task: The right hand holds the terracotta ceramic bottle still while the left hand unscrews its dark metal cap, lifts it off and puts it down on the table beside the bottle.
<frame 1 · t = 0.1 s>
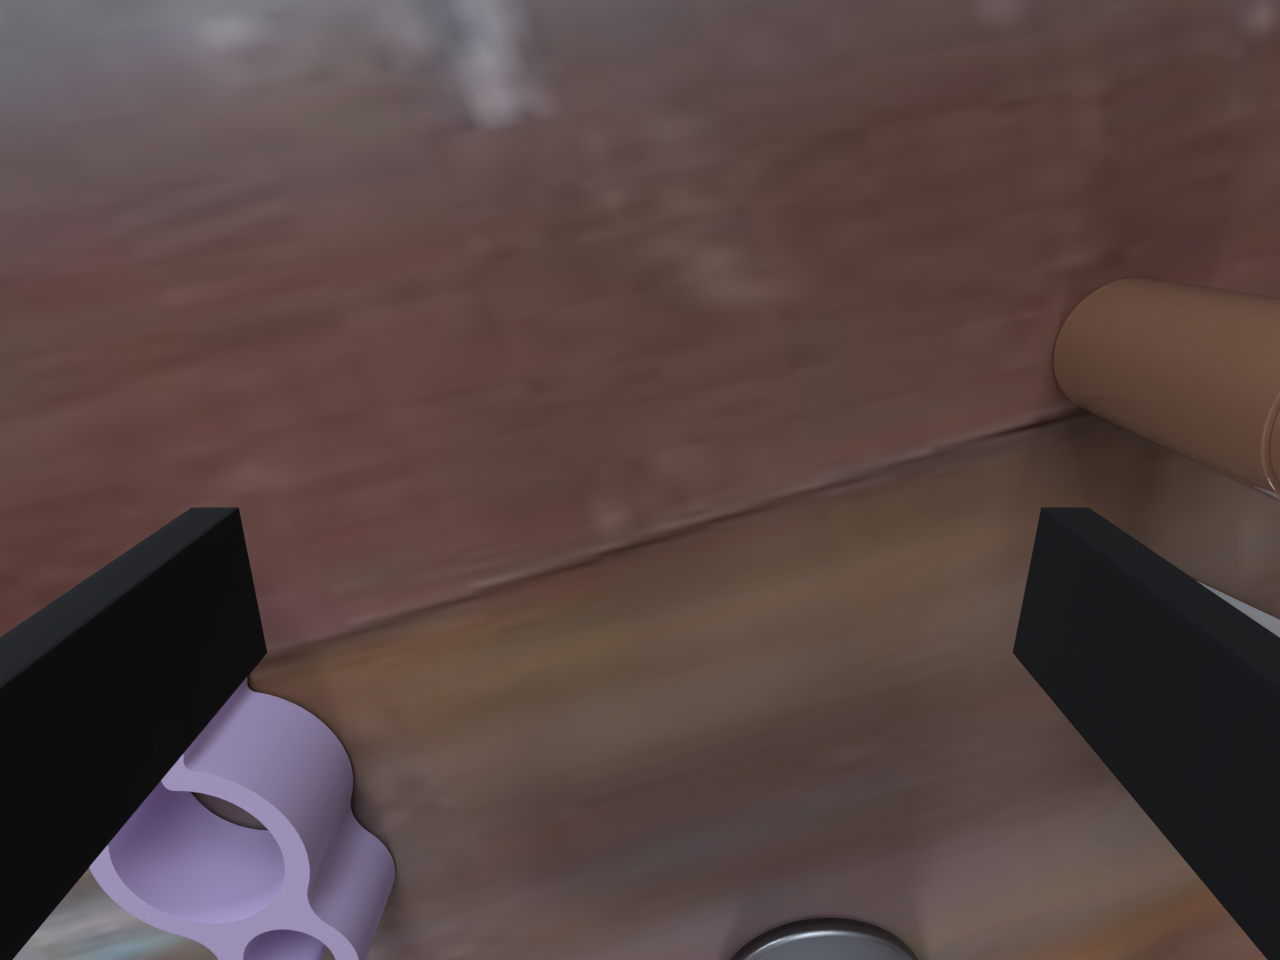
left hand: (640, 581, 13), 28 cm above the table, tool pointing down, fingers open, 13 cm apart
clip: (281, 798, 50), on the table
bottle: (1122, 347, 40), on the table
electronic device: (1191, 641, 46), on the table
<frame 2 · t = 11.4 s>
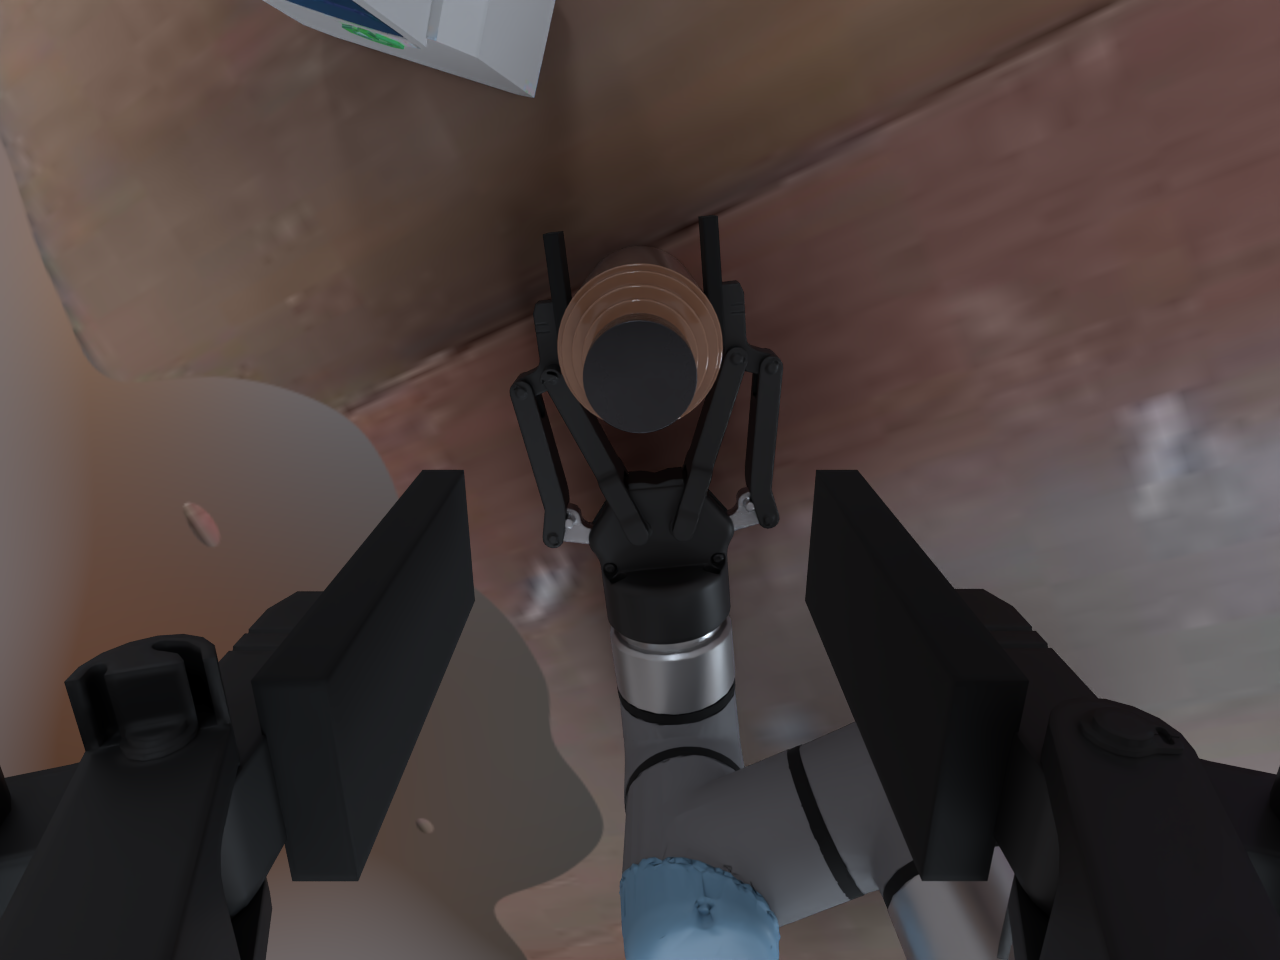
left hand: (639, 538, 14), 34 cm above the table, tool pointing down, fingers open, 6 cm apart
right hand: (630, 225, 39), fingers closed on bottle, 7 cm apart
cap: (640, 376, 28), point 20 cm above the table, screwed on, not yet turned
bottle: (640, 307, 46), on the table, touching right hand
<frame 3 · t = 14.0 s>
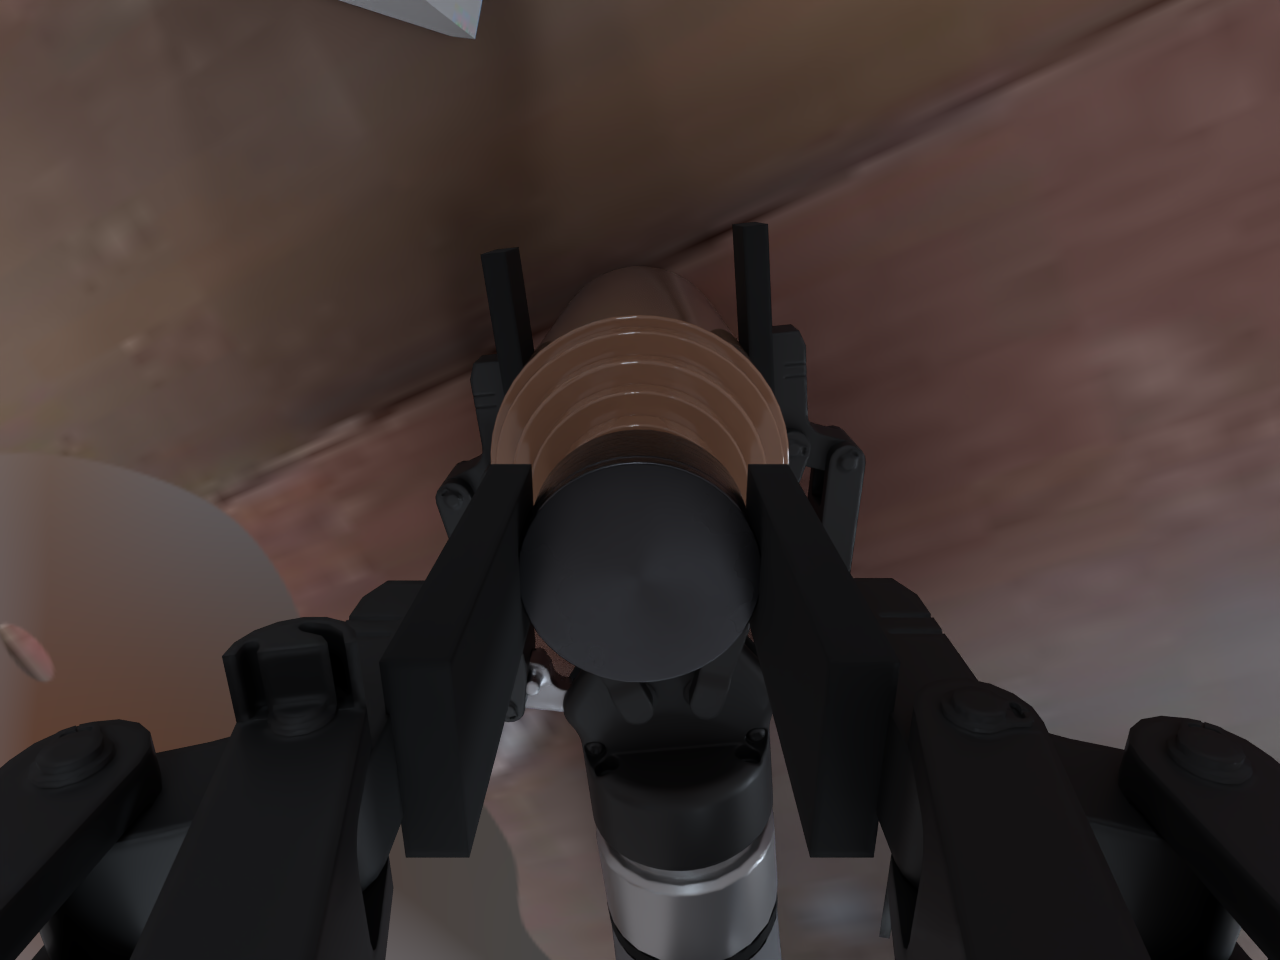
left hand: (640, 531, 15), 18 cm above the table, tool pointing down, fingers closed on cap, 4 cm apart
cap: (639, 570, 13), point 20 cm above the table, screwed on, not yet turned, touching left hand
bottle: (639, 354, 32), on the table, touching right hand
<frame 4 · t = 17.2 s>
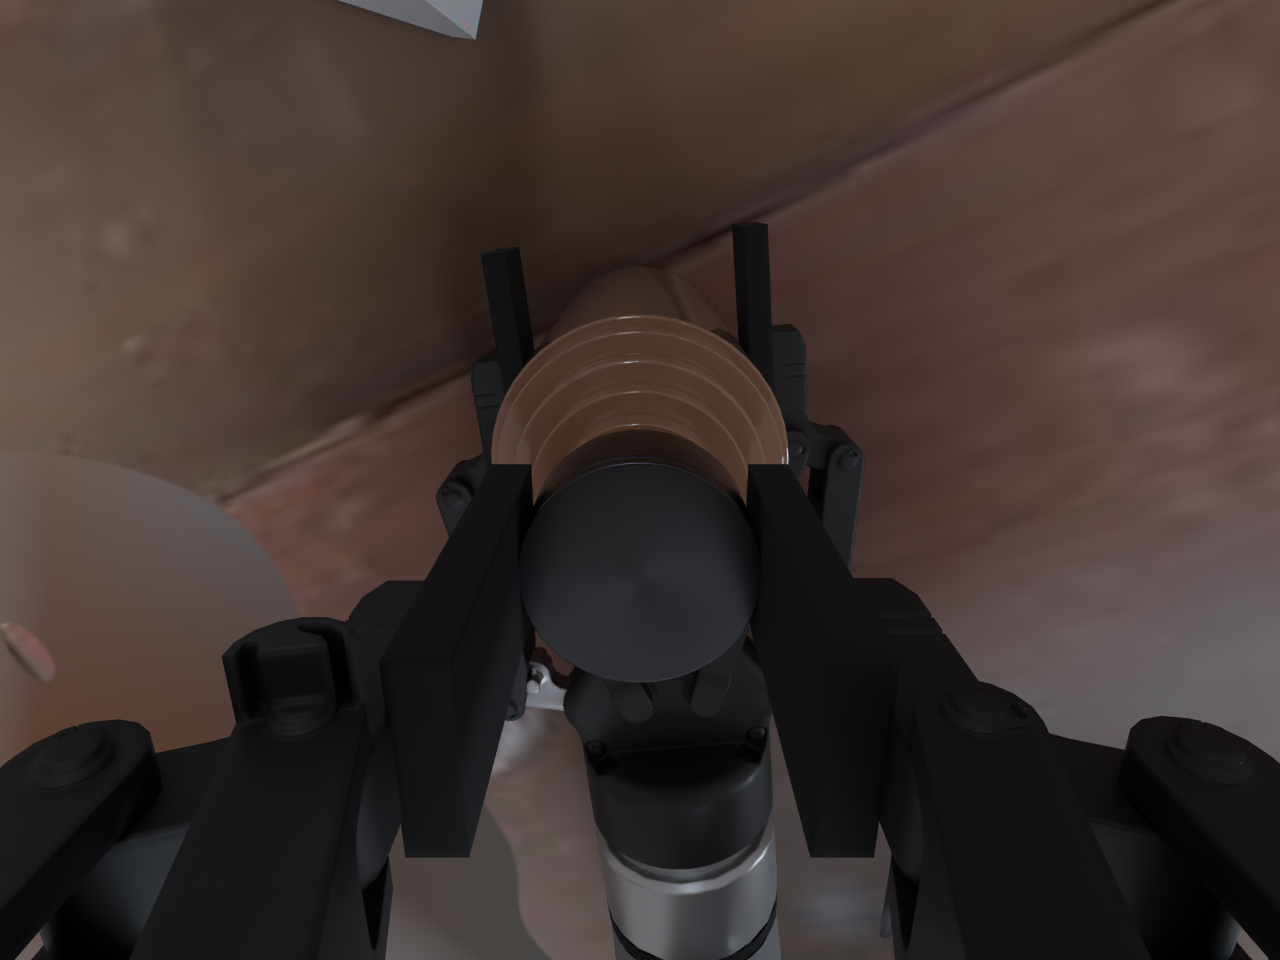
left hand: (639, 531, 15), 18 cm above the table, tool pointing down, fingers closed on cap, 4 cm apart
cap: (639, 570, 13), point 20 cm above the table, turned 84° so far, risen 0.1 cm, still on its thread, touching left hand
bottle: (639, 354, 32), on the table, touching right hand
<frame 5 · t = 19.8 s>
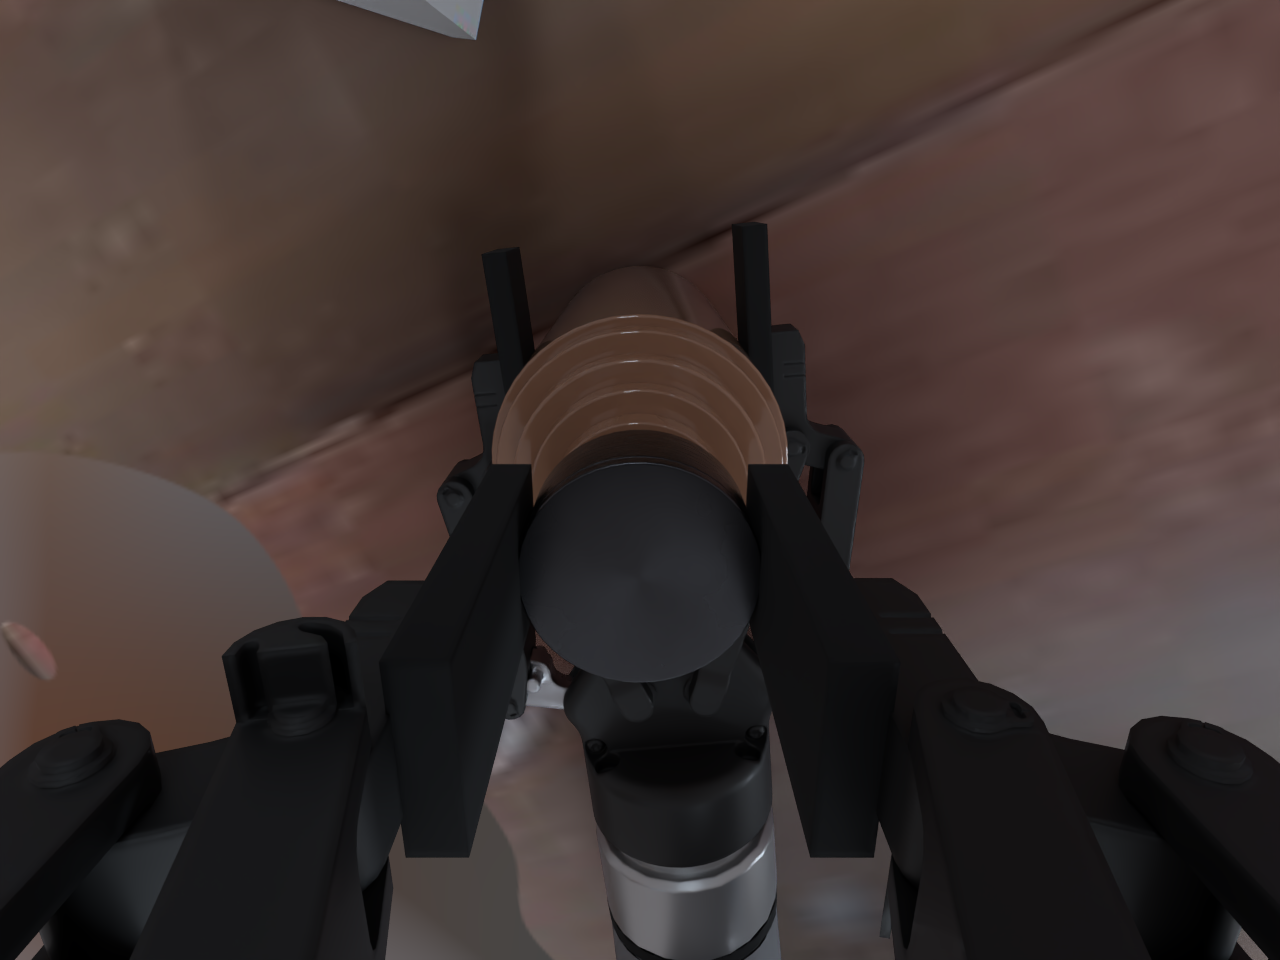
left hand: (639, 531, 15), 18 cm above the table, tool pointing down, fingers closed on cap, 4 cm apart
cap: (639, 570, 13), point 20 cm above the table, turned 168° so far, risen 0.1 cm, still on its thread, touching left hand
bottle: (639, 354, 32), on the table, touching right hand
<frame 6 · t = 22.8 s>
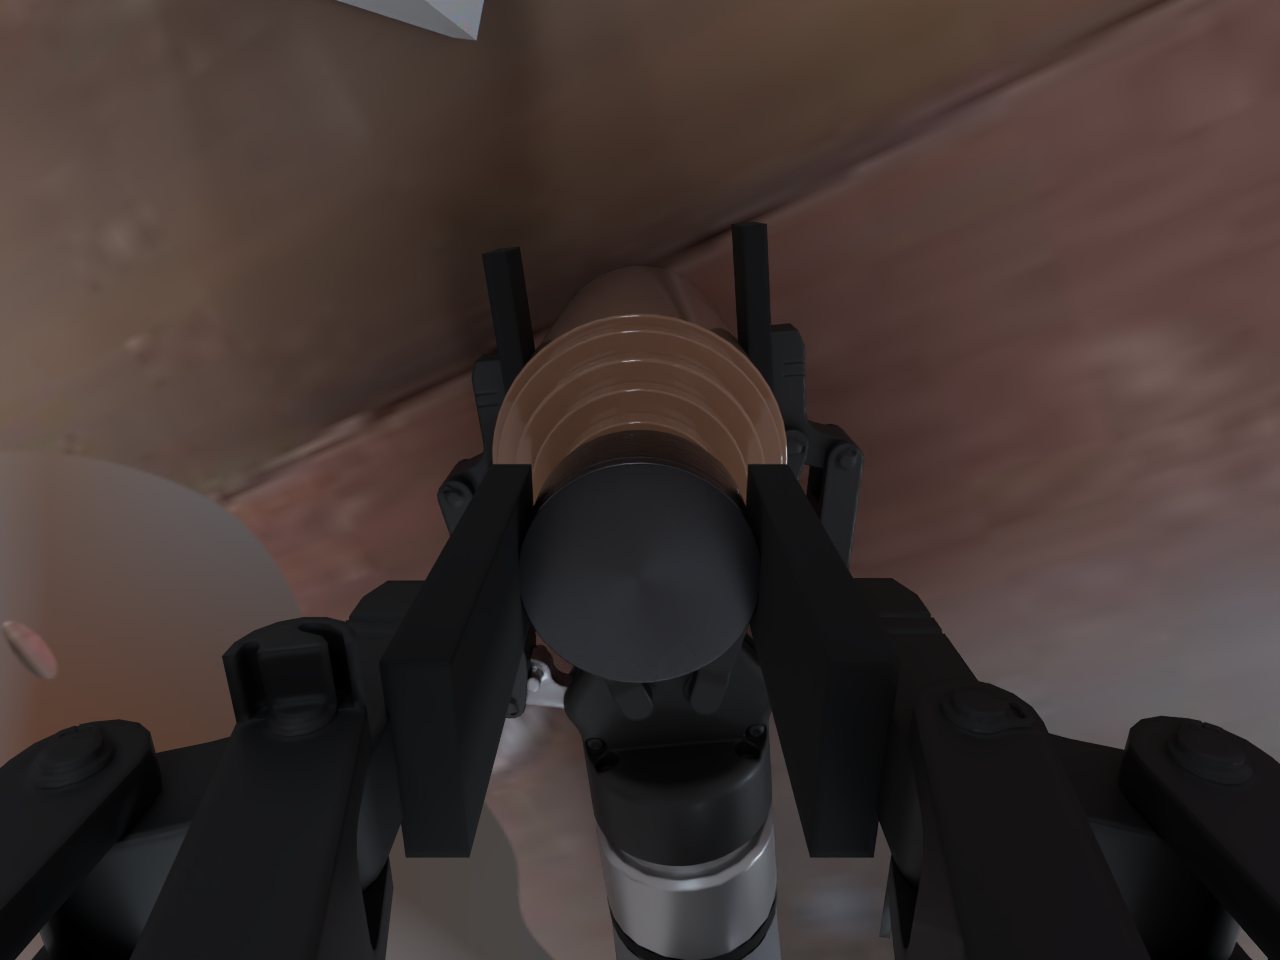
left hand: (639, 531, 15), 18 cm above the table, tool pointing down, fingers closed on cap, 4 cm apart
cap: (639, 571, 13), point 20 cm above the table, turned 252° so far, risen 0.2 cm, still on its thread, touching left hand
bottle: (639, 354, 32), on the table, touching right hand
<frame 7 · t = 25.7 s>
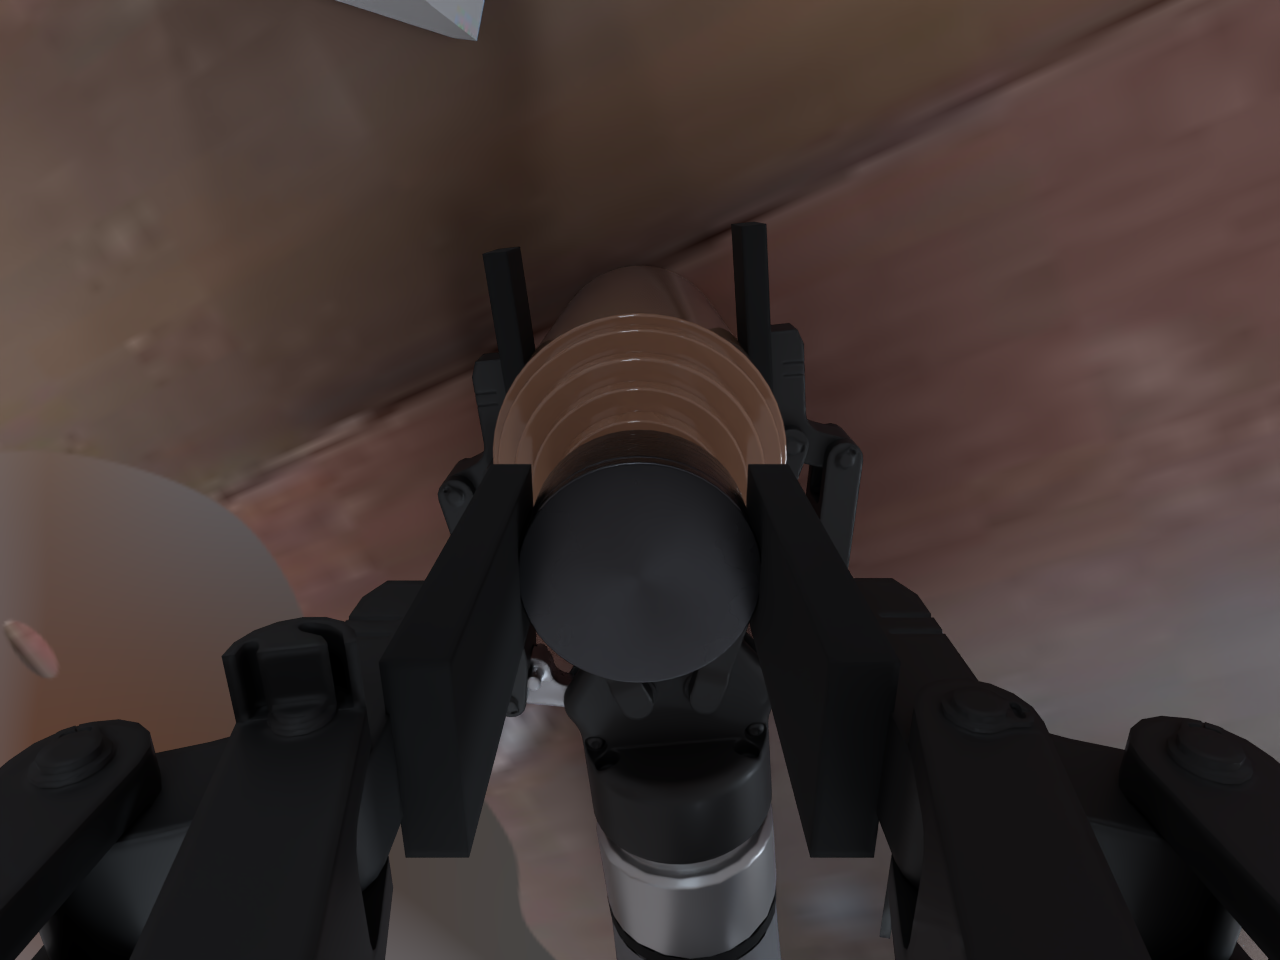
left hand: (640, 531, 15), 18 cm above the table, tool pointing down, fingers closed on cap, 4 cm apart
cap: (639, 571, 13), point 20 cm above the table, turned 337° so far, risen 0.3 cm, still on its thread, touching left hand
bottle: (639, 353, 32), on the table, touching right hand
when the left hand's fingers open (1 cm above the table, at t = 33.2 s): cap drops 1 cm, point 2 cm above the table.
when the right hand's fingers open (6 cm above the table, at t = 34.4 s): bottle stays where it is, on the table.
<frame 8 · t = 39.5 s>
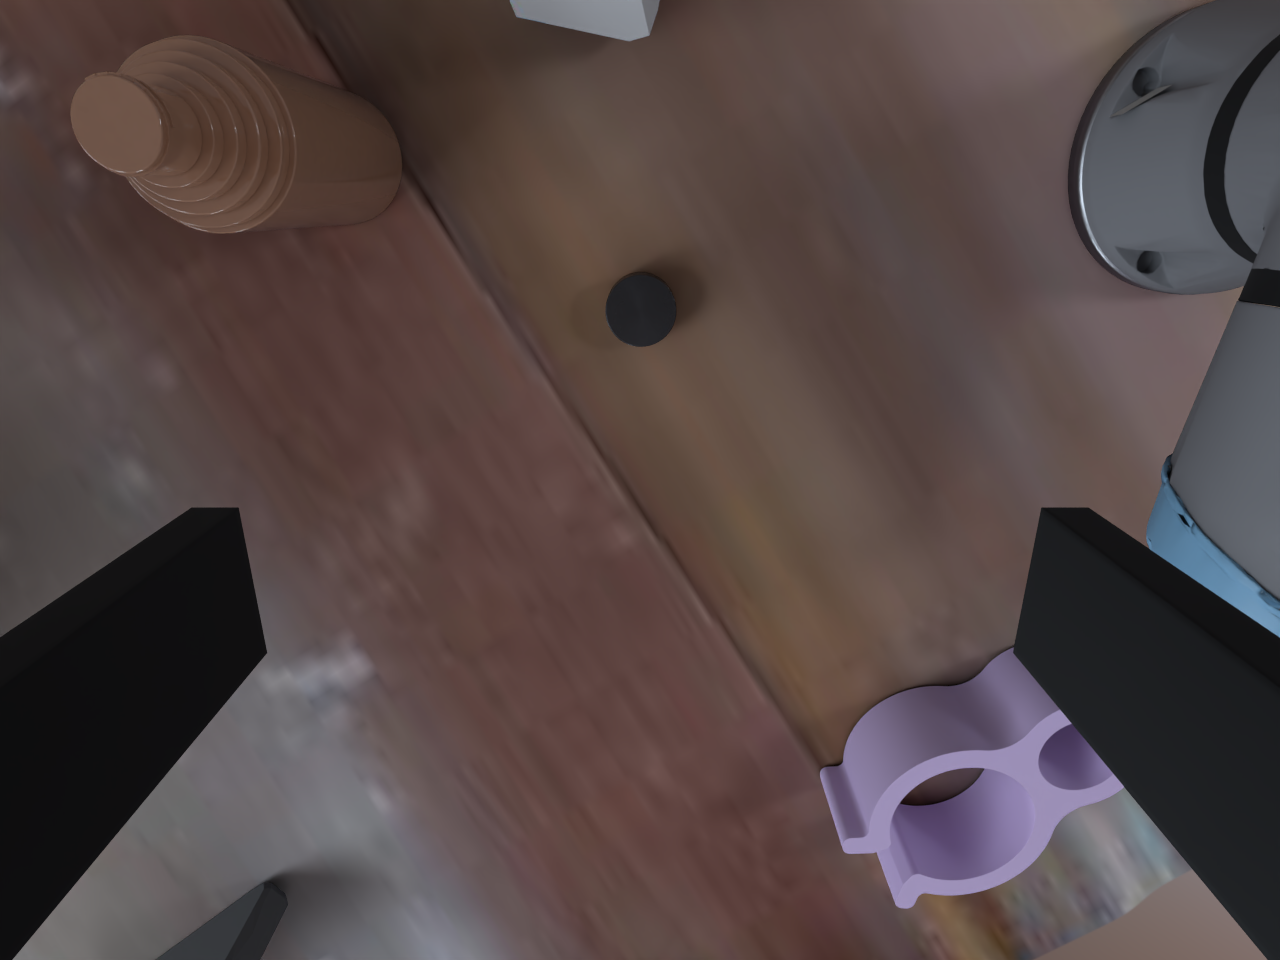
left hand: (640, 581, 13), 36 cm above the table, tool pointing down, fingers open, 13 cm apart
handheld gaming console: (198, 944, 64), on the table
clip: (954, 735, 57), on the table
cap: (640, 310, 45), point 2 cm above the table, off its thread
bottle: (339, 158, 43), on the table
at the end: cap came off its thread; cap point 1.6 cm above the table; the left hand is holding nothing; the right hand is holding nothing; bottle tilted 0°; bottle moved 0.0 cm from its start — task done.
